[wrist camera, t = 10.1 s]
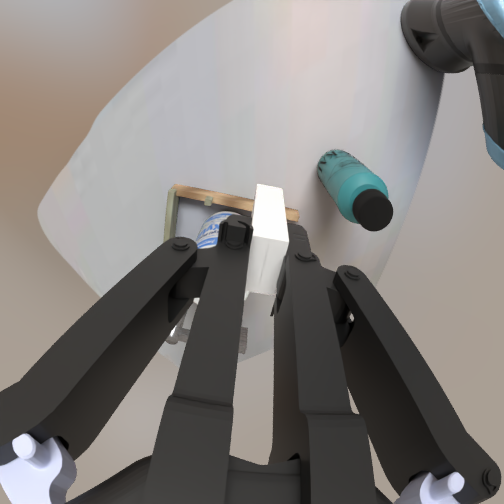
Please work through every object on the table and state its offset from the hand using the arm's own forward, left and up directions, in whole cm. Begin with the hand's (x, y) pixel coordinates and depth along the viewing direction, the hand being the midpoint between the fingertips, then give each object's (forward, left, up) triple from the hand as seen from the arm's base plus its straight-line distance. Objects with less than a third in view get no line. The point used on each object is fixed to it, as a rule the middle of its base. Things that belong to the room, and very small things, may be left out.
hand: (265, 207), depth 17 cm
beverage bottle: (-12, +1, -28) cm, 31 cm away
